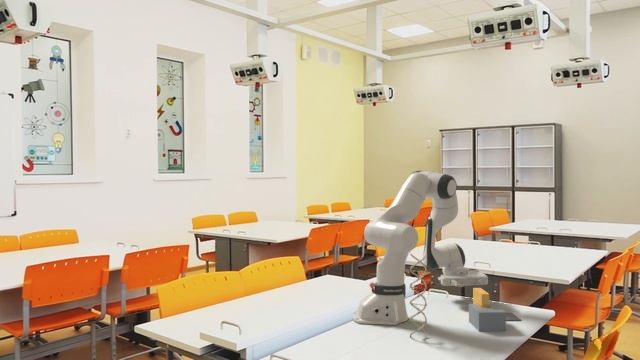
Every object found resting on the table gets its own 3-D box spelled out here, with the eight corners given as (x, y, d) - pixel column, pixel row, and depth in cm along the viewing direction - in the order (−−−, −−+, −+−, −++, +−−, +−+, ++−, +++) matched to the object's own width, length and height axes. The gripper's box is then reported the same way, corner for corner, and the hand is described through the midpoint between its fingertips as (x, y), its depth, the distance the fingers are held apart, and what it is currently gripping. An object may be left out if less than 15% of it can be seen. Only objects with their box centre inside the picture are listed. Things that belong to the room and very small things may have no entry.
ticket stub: (481, 325, 199) (481, 294, 199) (473, 317, 209) (473, 287, 209) (489, 324, 200) (489, 294, 199) (480, 317, 210) (480, 287, 209)
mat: (496, 321, 204) (496, 320, 204) (487, 313, 214) (487, 312, 214) (521, 320, 204) (521, 319, 204) (511, 313, 214) (511, 312, 214)
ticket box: (479, 331, 192) (479, 312, 192) (468, 321, 204) (468, 303, 204) (505, 330, 192) (505, 312, 192) (493, 320, 205) (493, 303, 204)
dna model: (406, 339, 184) (406, 255, 183) (412, 333, 190) (411, 252, 189) (424, 342, 181) (424, 256, 180) (429, 336, 186) (429, 253, 186)
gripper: (436, 270, 233) (444, 277, 220) (481, 269, 234) (492, 276, 220) (436, 284, 234) (444, 292, 220) (481, 283, 234) (492, 290, 220)
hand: (469, 284), depth 220 cm, fingers open, 8 cm apart
